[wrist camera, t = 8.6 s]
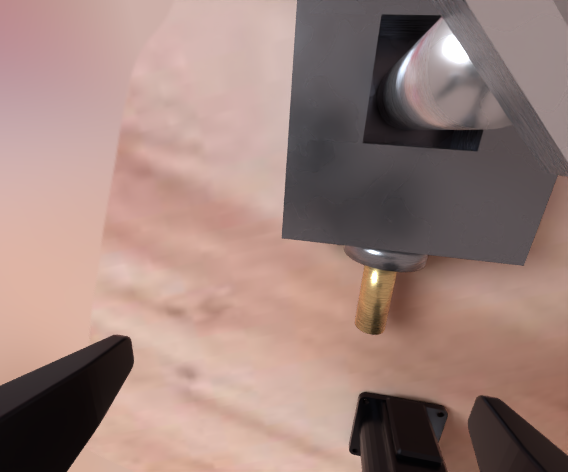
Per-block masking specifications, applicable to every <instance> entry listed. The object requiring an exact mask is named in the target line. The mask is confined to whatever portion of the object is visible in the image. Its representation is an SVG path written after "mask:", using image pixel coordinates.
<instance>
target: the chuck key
mask: <svg viewBox="0 0 568 472" xmlns="http://www.w3.org/2000/svg"><path fill="white" fill-rule="evenodd" d="M431 1H432V2H433V4H434V5H435V7H436V9H437V10H438V12H439V13H440V15H441V16H442V17H441V18H440V19H439V20H438V21H437V22H436V23H435V24H434V25H433V26H432V27H431V28H430V29H429V30H428V31H427V32H426V33H425V34H424V35H423V36H422V37H421V38H420V39H419V40H418V41H417V42H416V43H415V44H414V45H413V46H412V47H411V49H410V50H409V51H408V52H407V53H406V54H405V55H404V56H403V57H402V58H401V59H400V60H399V61H398V62H397V63H396V64H395V65H394V66H393V67H392V68H391V69H390V70H389V71H388V72H387V73H386V75H385V76H384V78H383V79H382V81H381V83H380V86H379V89H378V94H377V104H378V109H379V112H380V114H381V116H382V118H383V119H384V120H385V121H386V122H387V123H388V124H389V125H391V126H392V127H394V128H397V129H401V130H477V129H498V128H503V127H507V126H510V125H513V126H514V128H515V129H516V131H517V132H518V134H519V135H520V137H521V138H522V140H523V141H524V143H525V144H526V146H527V147H528V149H529V150H530V152H531V153H532V155H533V157H534V158H535V160H536V161H537V163H538V164H539V166H540V167H541V169H542V170H543V172H545V173H550V174H556V175H561V176H566V177H568V0H431Z"/></svg>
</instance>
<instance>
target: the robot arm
mask: <svg viewBox="0 0 568 472" xmlns="http://www.w3.org/2000/svg"><path fill="white" fill-rule="evenodd" d="M133 364H134V356H133V349H132V342H131V339H130V337H128V336H123V335H112V336H110V337H108V338H106V339H103V340H101V341H99V342H97V343H94V344H92V345H90V346H88V347H86V348H83V349H81V350H79V351H77V352H74V353H72V354H70V355H68V356H65V357H63V358H61V359H59V360H57V361H55V362H52V363H50V364H48V365H45V366H43V367H41V368H39V369H36V370H34V371H32V372H30V373H27V374H25V375H23V376H21V377H18V378H16V379H14V380H12V381H10V382H7V383H5V384H3V385H1V386H0V472H67V471H68V469H69V468H70V467H71V465H72V464H73V462H74V461H75V459H76V458H77V456H78V455H79V454H80V452H81V451H82V449H83V448H84V446H85V445H86V444H87V442H88V441H89V439H90V438H91V436H92V435H93V433H94V432H95V430H96V429H97V427H98V426H99V424H100V423H101V421H102V420H103V418H104V416H105V415H106V413H107V411H108V409H109V408H110V406H111V404H112V402H113V401H114V399H115V397H116V396H117V394H118V392H119V390H120V389H121V387H122V385H123V383H124V382H125V380H126V378H127V376H128V375H129V373H130V371H131V369H132V367H133ZM364 399H367V400H364ZM439 412H440V413H439ZM447 417H448V414H447V411H446V409H445V407H443V406H441V405H435V404H430V403H424V402H418V401H412V400H407V399H401V398H395V397H389V396H384V395H378V394H372V393H366V392H363V393H361V394H360V395H359V397H358V402H357V407H356V412H355V417H354V422H353V427H352V432H351V437H350V442H349V451H350V453H351V454H354V455H358V456H361V463H362V472H448V471H447V468H446V465H445V462H444V459H443V456H442V453H441V450H440V447H439V444H438V443H439V440H440V437H441V434H442V431H443V428H444V425H445V422H446V420H447ZM468 429H469V433H470V437H471V441H472V444H473V448H474V451H475V455H476V458H477V462H478V466H479V469H480V472H568V455H566V454H565V453H564V452H563V451H562V450H560V449H559V448H558V447H557V446H556V445H554V444H553V443H552V442H551V441H550V440H548V439H547V438H546V437H545V436H544V435H542V434H541V433H540V432H539V431H538V430H536V429H535V428H534V427H533V426H532V425H530V424H529V423H528V422H527V421H526V420H524V419H523V418H522V417H521V416H520V415H518V414H517V413H516V412H515V411H514V410H512V409H511V408H510V407H509V406H508V405H506V404H505V403H504V402H503V401H501V400H500V399H498V398H495V397H489V396H483V395H480V396H478V397H477V398H476V400H475V403H474V406H473V408H472V411H471V414H470V416H469V419H468Z"/></svg>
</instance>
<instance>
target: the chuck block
mask: <svg viewBox="0 0 568 472" xmlns="http://www.w3.org/2000/svg"><path fill="white" fill-rule="evenodd" d="M441 17H442V16H441V15H440V13H439V12H438V10H437V9H436V7H435V5H434V4H433V2H432V1H431V0H297V12H296V27H295V43H294V58H293V73H292V89H291V104H290V119H289V135H288V150H287V166H286V181H285V196H284V212H283V227H282V238H284V239H293V240H302V241H311V242H320V243H328V244H337V245H345V246H344V251H345V253H346V254H347V255H348V256H349V257H350V258H351V259H353V260H355V261H356V262H358V263H361V264H363V265H365V266H364V272H363V278H362V284H361V289H360V295H359V301H358V307H357V312H356V318H355V325H356V327H357V328H358V329H359V330H361V331H363V332H365V333H367V334H372V335H378V334H381V333H383V332H384V330H385V325H386V321H387V316H388V312H389V307H390V302H391V298H392V293H393V289H394V284H395V279H396V275H397V272H412V271H417V270H420V269H422V268H423V267H425V265H426V261H427V257H428V255H434V256H443V257H452V258H460V259H469V260H478V261H487V262H496V263H504V264H513V265H522V266H524V263H525V261H526V258H527V255H528V253H529V250H530V248H531V245H532V242H533V240H534V237H535V234H536V232H537V229H538V226H539V224H540V221H541V218H542V216H543V213H544V211H545V208H546V205H547V203H548V200H549V197H550V195H551V192H552V189H553V187H554V184H555V181H556V179H557V176H558V175H556V174H550V173H545V172H543V170H542V169H541V167H540V166H539V164H538V163H537V161H536V160H535V158H534V157H533V155H532V153H531V152H530V150H529V149H528V147H527V146H526V144H525V143H524V141H523V140H522V138H521V137H520V135H519V134H518V132H517V131H516V129H515V128H514V126H513V125H510V126H507V127H503V128H498V129H477V130H401V129H397V128H394V127H392V126H391V125H389V124H388V123H387V122H386V121H385V120H384V119H383V118H382V116H381V114H380V112H379V109H378V104H377V94H378V89H379V86H380V83H381V81H382V79H383V78H384V76H385V75H386V73H387V72H388V71H389V70H390V69H391V68H392V67H393V66H394V65H395V64H396V63H397V62H398V61H399V60H400V59H401V58H402V57H403V56H404V55H405V54H406V53H407V52H408V51H409V50H410V49H411V47H412V46H413V45H414V44H415V43H416V42H417V41H418V40H419V39H420V38H421V37H422V36H423V35H424V34H425V33H426V32H427V31H428V30H429V29H430V28H431V27H432V26H433V25H434V24H435V23H436V22H437V21H438V20H439V19H440V18H441Z"/></svg>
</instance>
